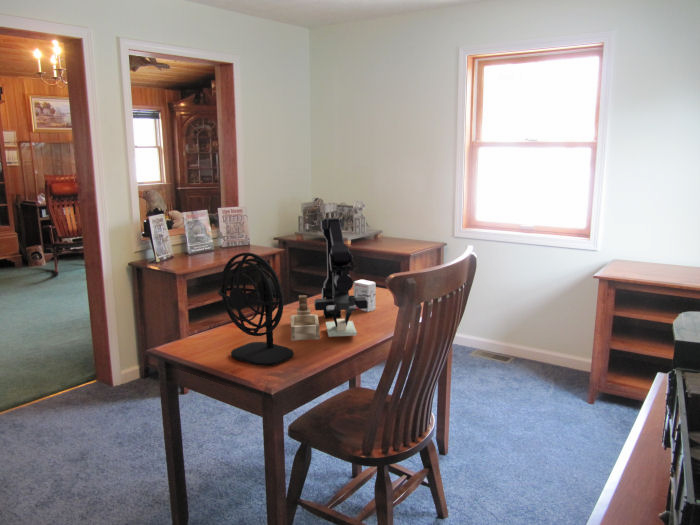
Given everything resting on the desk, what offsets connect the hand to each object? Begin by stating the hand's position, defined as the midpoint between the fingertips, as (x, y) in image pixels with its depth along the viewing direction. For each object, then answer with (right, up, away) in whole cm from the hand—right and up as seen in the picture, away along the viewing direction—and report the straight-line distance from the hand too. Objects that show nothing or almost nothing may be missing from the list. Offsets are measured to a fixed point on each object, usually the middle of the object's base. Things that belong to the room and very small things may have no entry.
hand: (341, 326), depth 202 cm
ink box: (+9, +3, +33) cm, 35 cm away
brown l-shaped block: (-15, +6, +14) cm, 22 cm away
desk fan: (-26, -8, -20) cm, 34 cm away
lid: (0, -1, +1) cm, 2 cm away
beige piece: (-14, -2, +6) cm, 15 cm away
